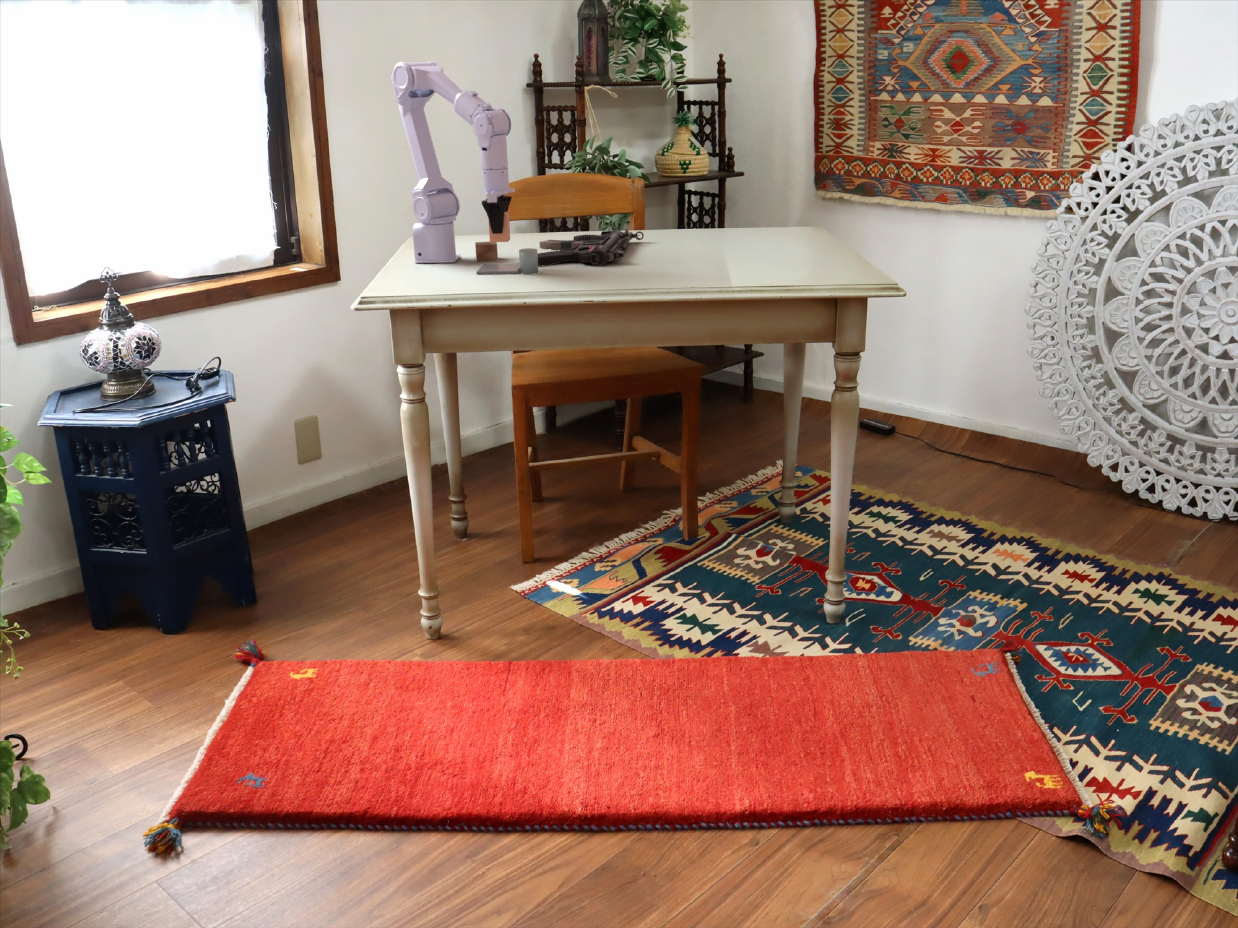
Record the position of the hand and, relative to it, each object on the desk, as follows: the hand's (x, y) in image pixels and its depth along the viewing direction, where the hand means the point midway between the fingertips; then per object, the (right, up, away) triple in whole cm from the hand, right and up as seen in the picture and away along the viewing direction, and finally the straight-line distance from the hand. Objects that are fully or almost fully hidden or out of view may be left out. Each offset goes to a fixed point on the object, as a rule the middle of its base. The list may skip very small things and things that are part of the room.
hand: (498, 231), depth 235 cm
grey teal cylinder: (+7, -9, -1) cm, 11 cm away
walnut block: (-4, -4, +15) cm, 16 cm away
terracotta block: (0, -2, +1) cm, 2 cm away
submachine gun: (+18, -2, +20) cm, 27 cm away
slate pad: (0, -8, +3) cm, 8 cm away
